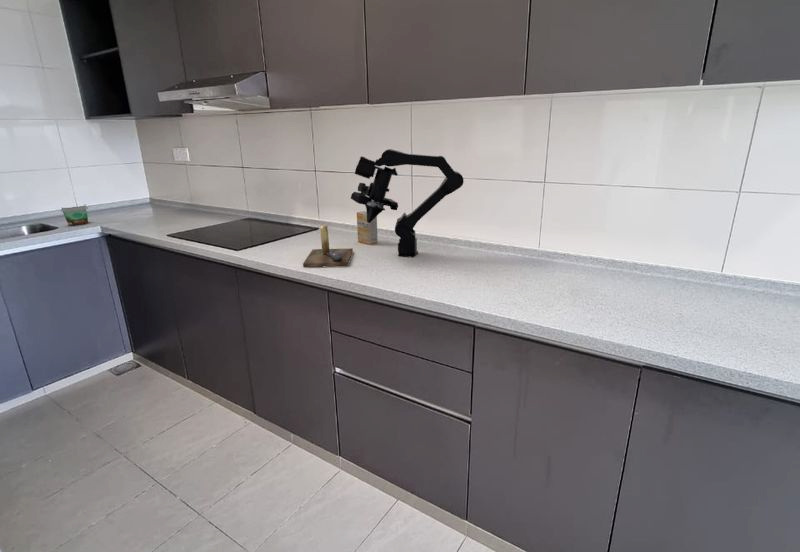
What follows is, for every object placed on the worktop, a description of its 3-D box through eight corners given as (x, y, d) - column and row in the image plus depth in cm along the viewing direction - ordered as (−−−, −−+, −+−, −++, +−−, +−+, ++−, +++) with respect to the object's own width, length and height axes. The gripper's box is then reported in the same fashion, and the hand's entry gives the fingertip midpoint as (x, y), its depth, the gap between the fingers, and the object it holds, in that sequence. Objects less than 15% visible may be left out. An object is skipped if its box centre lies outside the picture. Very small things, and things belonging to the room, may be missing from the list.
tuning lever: (326, 249, 172) (324, 223, 168) (343, 260, 158) (341, 231, 154) (317, 251, 170) (315, 224, 166) (334, 261, 156) (332, 233, 153)
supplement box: (357, 242, 189) (355, 212, 185) (365, 240, 193) (364, 210, 188) (369, 245, 184) (368, 214, 180) (378, 243, 187) (377, 212, 183)
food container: (70, 227, 233) (65, 208, 230) (65, 226, 236) (60, 207, 233) (95, 222, 243) (91, 204, 240) (90, 221, 246) (85, 204, 243)
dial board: (352, 252, 175) (352, 247, 174) (347, 266, 157) (347, 262, 156) (312, 252, 175) (312, 248, 174) (303, 267, 157) (302, 263, 156)
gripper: (388, 181, 173) (376, 217, 177) (349, 172, 160) (337, 211, 165) (404, 190, 165) (391, 228, 170) (365, 181, 153) (352, 222, 158)
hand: (368, 222), depth 166 cm, fingers closed
